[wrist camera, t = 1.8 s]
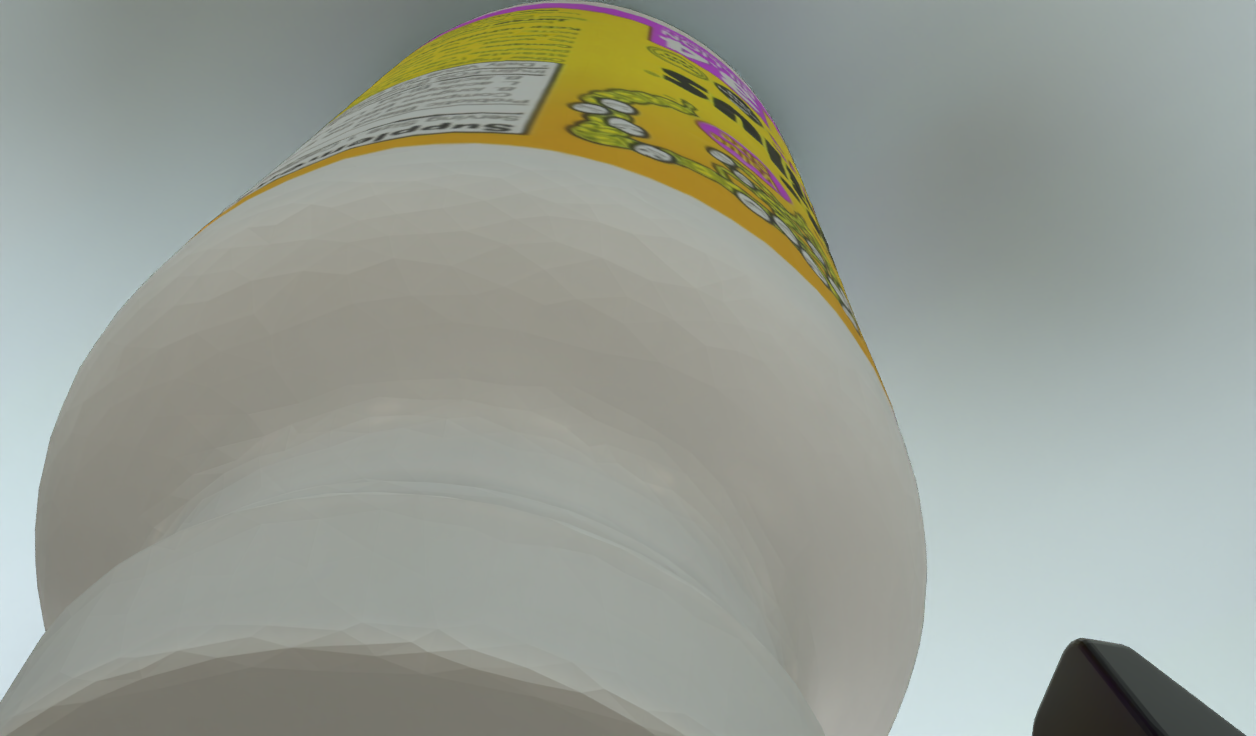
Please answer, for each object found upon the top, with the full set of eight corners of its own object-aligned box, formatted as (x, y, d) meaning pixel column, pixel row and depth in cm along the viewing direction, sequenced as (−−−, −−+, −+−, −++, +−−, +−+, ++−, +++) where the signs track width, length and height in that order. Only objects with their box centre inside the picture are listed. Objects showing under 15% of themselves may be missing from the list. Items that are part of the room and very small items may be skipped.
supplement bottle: (846, 355, 18) (1189, 1330, 6) (452, 467, 19) (118, 1482, 7) (724, -83, 15) (923, 193, 4) (274, 75, 16) (-696, 687, 5)
